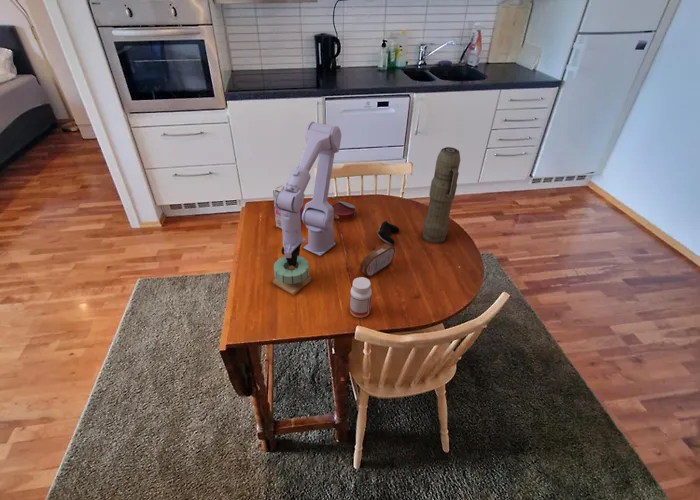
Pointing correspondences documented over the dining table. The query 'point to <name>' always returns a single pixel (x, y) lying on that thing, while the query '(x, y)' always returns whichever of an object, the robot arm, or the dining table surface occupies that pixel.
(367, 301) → the pill bottle
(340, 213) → the canned food
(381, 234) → the gaming controller
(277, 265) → the ring
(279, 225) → the candy bar box
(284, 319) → the dining table surface
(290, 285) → the peg stand
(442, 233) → the thermos
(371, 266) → the tin
